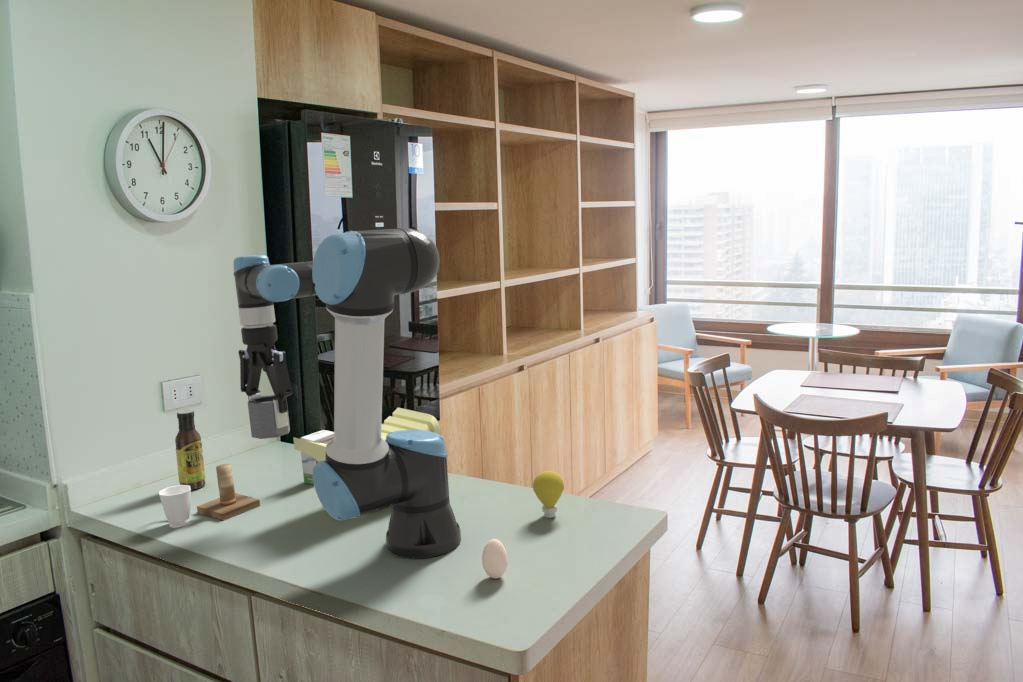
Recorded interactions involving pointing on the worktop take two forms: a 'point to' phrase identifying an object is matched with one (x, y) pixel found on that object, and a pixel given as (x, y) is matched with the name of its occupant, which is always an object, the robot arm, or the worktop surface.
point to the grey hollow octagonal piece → (264, 418)
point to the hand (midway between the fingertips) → (270, 424)
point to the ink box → (309, 461)
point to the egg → (494, 559)
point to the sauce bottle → (189, 452)
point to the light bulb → (548, 491)
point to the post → (227, 497)
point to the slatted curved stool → (398, 422)
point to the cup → (176, 504)
